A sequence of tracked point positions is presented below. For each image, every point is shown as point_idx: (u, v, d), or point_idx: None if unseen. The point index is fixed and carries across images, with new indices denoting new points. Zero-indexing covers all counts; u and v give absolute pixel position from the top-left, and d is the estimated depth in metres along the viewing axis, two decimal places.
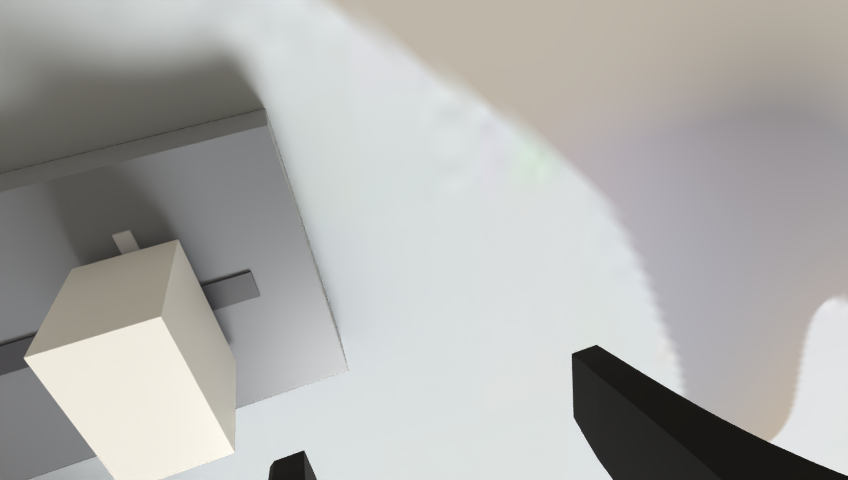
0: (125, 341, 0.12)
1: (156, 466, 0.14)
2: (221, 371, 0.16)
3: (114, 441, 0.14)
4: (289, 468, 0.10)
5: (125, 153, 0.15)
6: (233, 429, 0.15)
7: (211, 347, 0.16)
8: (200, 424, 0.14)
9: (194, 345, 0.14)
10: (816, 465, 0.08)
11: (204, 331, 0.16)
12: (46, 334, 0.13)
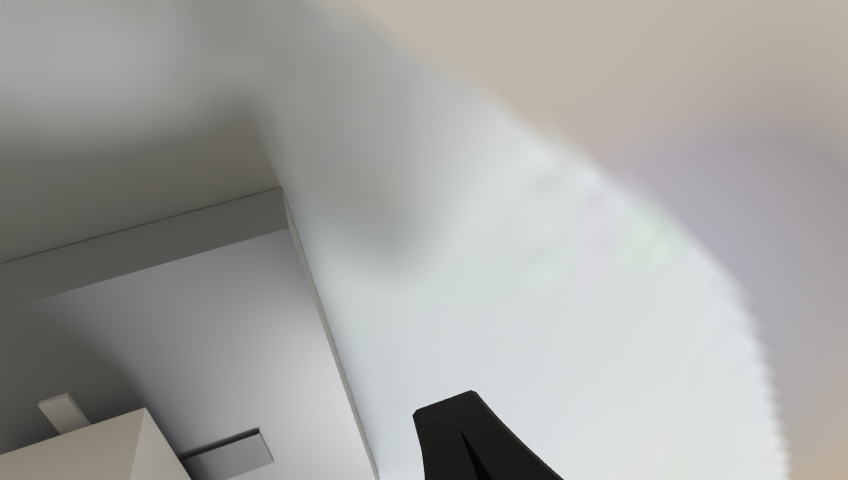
0: None
1: None
2: None
3: None
4: (436, 414, 0.10)
5: (59, 274, 0.10)
6: None
7: None
8: None
9: None
10: None
11: None
12: None
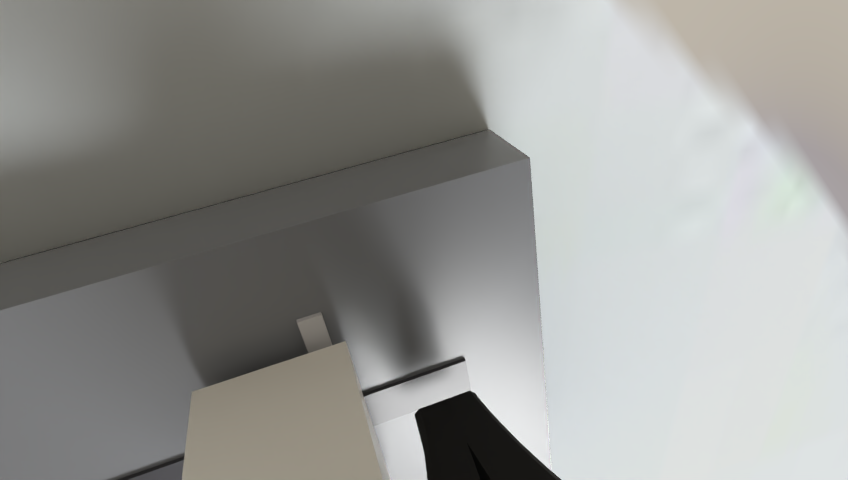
0: None
1: None
2: None
3: None
4: (438, 413, 0.10)
5: (319, 200, 0.10)
6: None
7: None
8: None
9: None
10: None
11: None
12: None
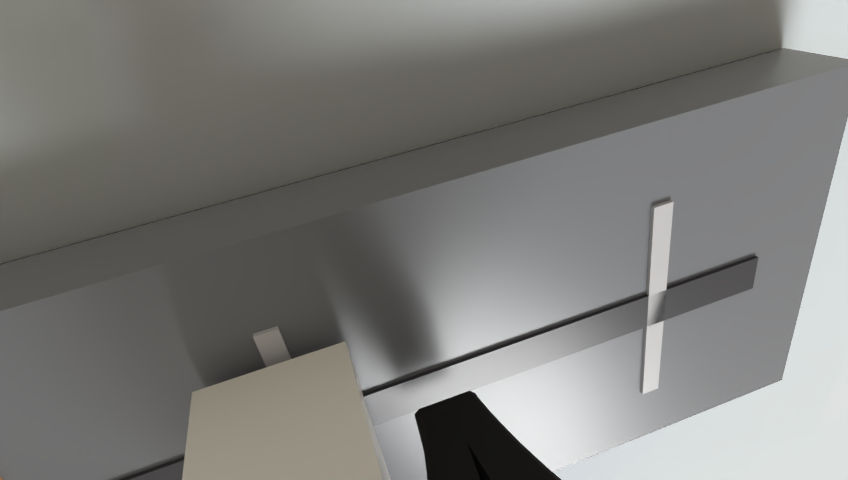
0: None
1: None
2: None
3: None
4: (438, 413, 0.10)
5: (677, 99, 0.12)
6: None
7: None
8: None
9: None
10: None
11: None
12: None
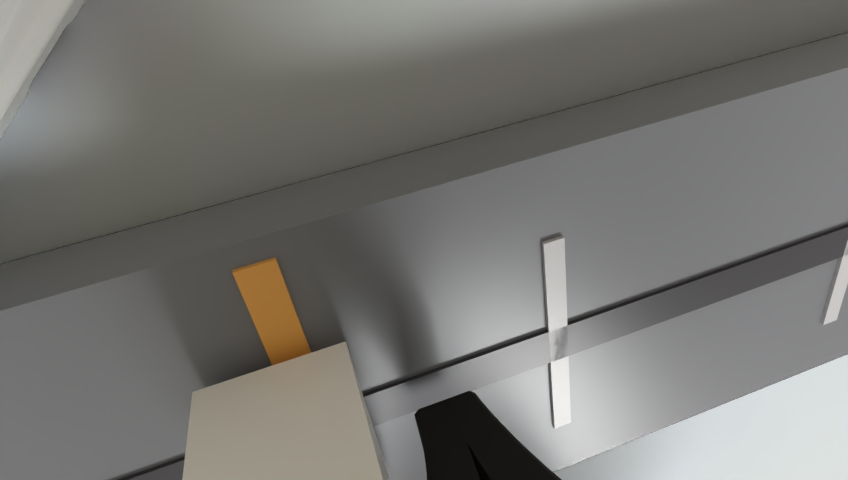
0: None
1: None
2: None
3: None
4: (437, 413, 0.10)
5: None
6: None
7: None
8: None
9: None
10: None
11: None
12: None
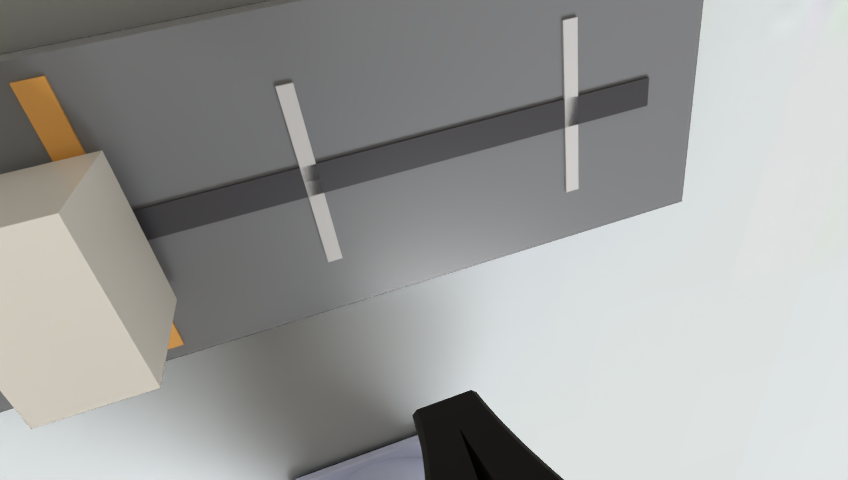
0: (16, 241, 0.11)
1: (67, 399, 0.13)
2: (151, 301, 0.14)
3: (13, 366, 0.12)
4: (436, 414, 0.10)
5: None
6: (162, 364, 0.14)
7: (139, 272, 0.14)
8: (116, 351, 0.12)
9: (111, 262, 0.12)
10: None
11: (130, 253, 0.14)
12: None
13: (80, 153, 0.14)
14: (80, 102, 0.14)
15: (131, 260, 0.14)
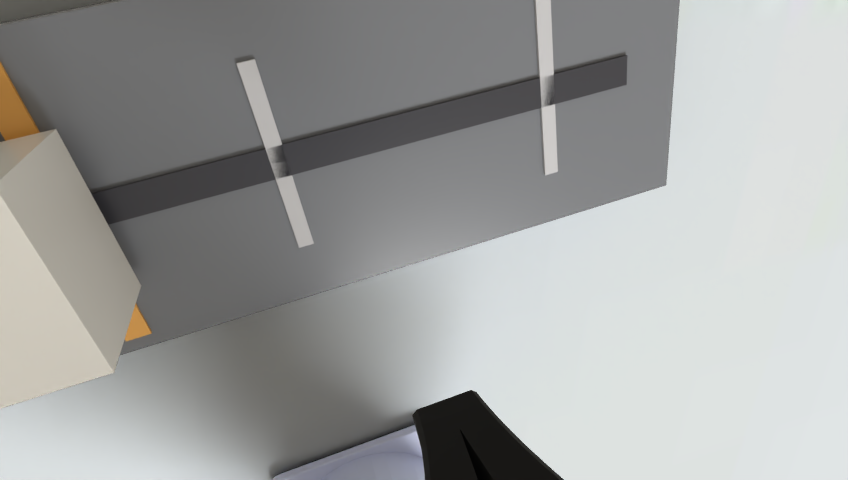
0: None
1: (15, 384, 0.12)
2: (108, 284, 0.14)
3: None
4: (436, 414, 0.10)
5: None
6: (117, 348, 0.13)
7: (94, 255, 0.14)
8: (65, 333, 0.12)
9: (59, 241, 0.12)
10: None
11: (84, 234, 0.13)
12: None
13: (34, 132, 0.14)
14: (32, 79, 0.13)
15: (85, 241, 0.13)
